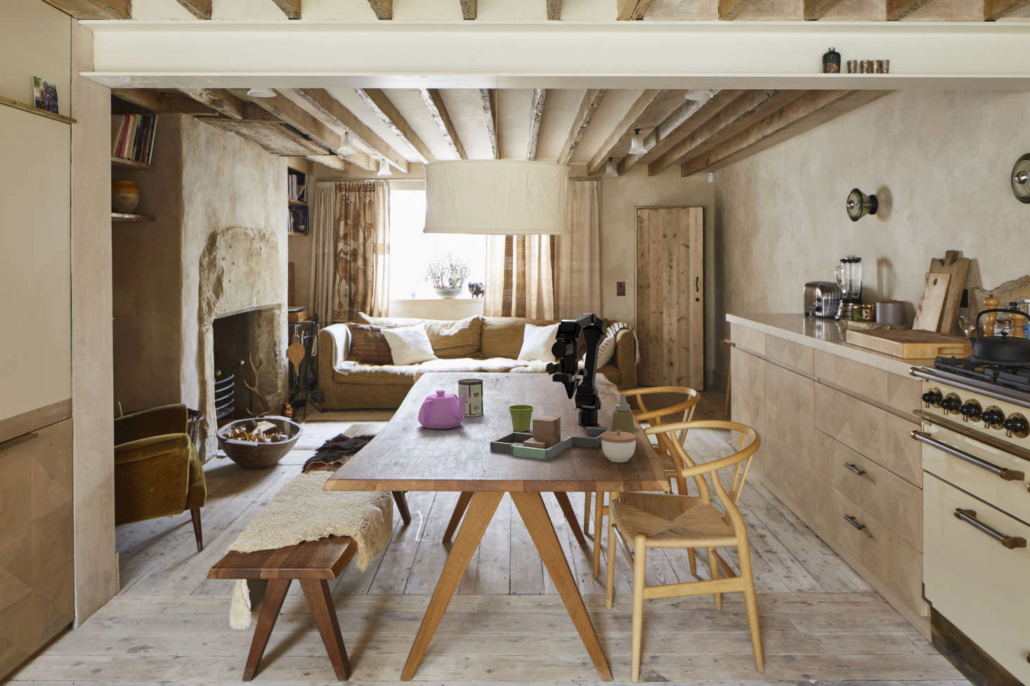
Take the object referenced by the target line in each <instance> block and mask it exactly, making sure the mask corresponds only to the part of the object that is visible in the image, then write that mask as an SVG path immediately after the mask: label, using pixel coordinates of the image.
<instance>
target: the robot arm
mask: <svg viewBox="0 0 1030 686" xmlns="http://www.w3.org/2000/svg"><path fill="white" fill-rule="evenodd" d="M607 332H608V330H607V326H606V324H605V322H604V320H603V319H601V318H599V317H598V316H597V314H596V313H594V312H583V313H581V314H580V315H578V316H576V317H575V318H572V319H561V320H560V323H559V324H558V327H557V330H556V333H555V334H556V335H555V337H554V338H555V341H556V342H554V343H553V344H552V345H551V348H550V350H551V354H552V355H553V357H555V359H559V362H557V363H554V362H548V363H546V366H545V372H547V373H548V376H551V375H552V377H551V378H552V379H551V380H552V383H561V384H562V385H564V388H565V393H566V395H567V398H568V400H572V399H573V397H574V402H575V403H574V404H575V409H577V410H579V412H578V413H577V416H578V419H577V424H578V423H579V424H578V425H580V424H581V426H582V425H583V426H582V427H594V426H595V425H597V426H600V423H598V421H599V419H598V416H599V415H598V412H599V410H600V411H601V409H602V401H601V398H600V396H599V390H598V387H597V386H596V377H597V367H598V360H599V359H598V358H599V352H600V350H599V349H600V346H601V345H602V344H603V343H604V341H605V339H606V335H607ZM582 333H583V339H584V341H585V344H586V349H585V358H584V366H583V367H579V362H580V361H581V357H579V342H580V340H581V339H580V338H581V337H580V336H581V334H582ZM578 376H582V378H578ZM580 382H581V383H580ZM575 392H576V393H575ZM595 427H596V426H595Z"/></svg>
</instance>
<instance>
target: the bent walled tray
mask: <svg viewBox="0 0 1030 686" xmlns="http://www.w3.org/2000/svg"><path fill="white" fill-rule="evenodd" d="M606 432H611V428H604V427H603V428H602V427H594V426H585V436H577V435H576V436H575V435H570V436H568V437H566V438H564V439H562V440H561V441H560V442H559V443H557V444H555V445H553V446H551V447H550V448H548V449H540V448H531V447H523V442H524V441H526V440H528V439H530V438H532V437H533V433H525V432H517V431H511V432H509V433H507V434H505V435H502V436H501V437H498V438H496V439H494V440H491V441H490V442H489V449H490V450H489V451H490V452H495V451H498V452H497V453H503V452H505V454H510V456H514V457H520V458H521V457H522V458H531V459H539V460H547V461H549V460H550V459H552V458H553V456H554V457H555V456H557V455H559V454H560V453H562V452H564V451H565V450H567V449H569V448H571V447H572V446H573V445H578V446H577V447H582V446H586V447H585V448H590V447H595V448H594V449H597V448H599V447H600V446H602V445H601V444H602V439H601V435H602V434H603V433H606ZM586 435H588V436H586ZM571 445H572V446H571ZM599 445H600V446H599ZM570 446H571V447H570ZM598 446H599V447H598ZM568 447H569V448H568ZM596 447H597V448H596ZM566 448H567V449H566ZM563 450H564V451H563ZM558 453H559V454H558ZM548 459H549V460H548Z"/></svg>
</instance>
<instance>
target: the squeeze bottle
mask: <svg viewBox="0 0 1030 686" xmlns="http://www.w3.org/2000/svg"><path fill="white" fill-rule="evenodd" d="M626 398H627V397H626V393H621V394H620V397H619V400H618V401H619V403H616V404H615V410H614V411H613V412H612V418H611V428H610V429H611V432H615V431H617V430H620V432H629V433H632V434H635V426H634V425H635V423H634V414H633V412H632V410H631V405H630V404H628V403H627V399H626Z"/></svg>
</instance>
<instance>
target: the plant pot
mask: <svg viewBox="0 0 1030 686" xmlns="http://www.w3.org/2000/svg"><path fill="white" fill-rule="evenodd" d="M534 409H535V406H533V405H529V404H514V405H510V406H508V410H509V413H510V417H511V424H512V430H513V431H514V432H517V431H519V433H523V432H522V431H524V432H525V431H526V432H529V431H530V429H531V421H532V414H533V412H534Z"/></svg>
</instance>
